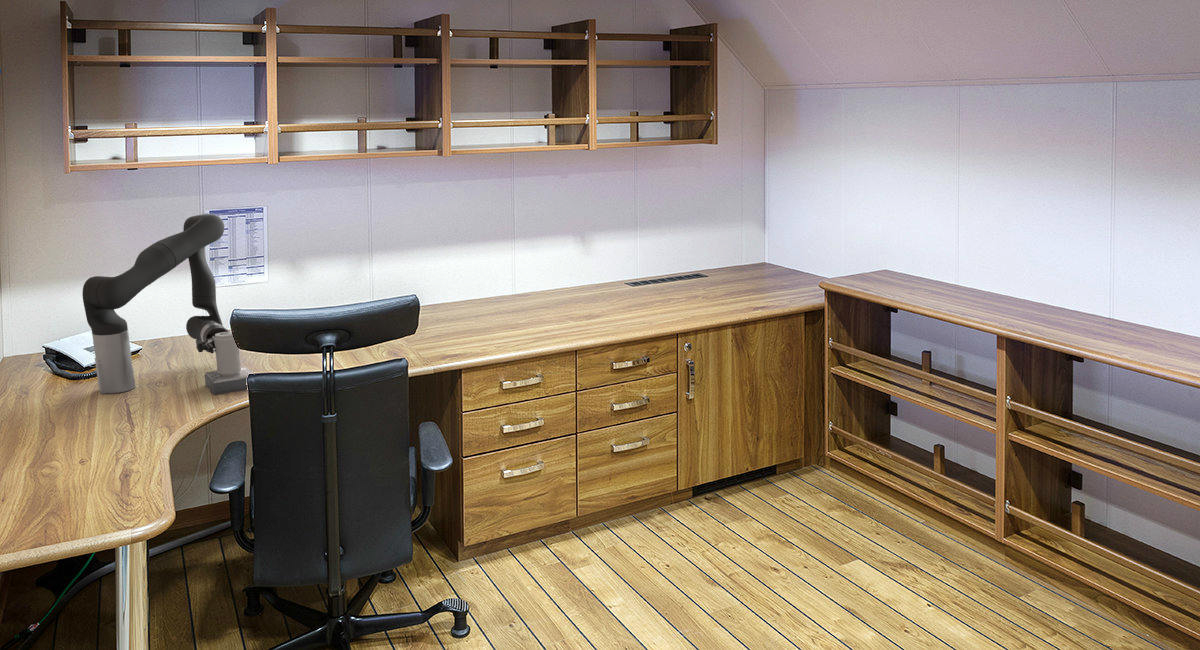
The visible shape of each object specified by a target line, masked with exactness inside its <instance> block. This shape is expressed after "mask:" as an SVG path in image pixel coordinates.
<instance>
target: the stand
mask: <svg viewBox="0 0 1200 650" xmlns="http://www.w3.org/2000/svg"><path fill="white" fill-rule="evenodd" d="M249 374H254V373H253V372H252V371H251V370H250V369H249V368H248V367H247V366H241V371H240V372H239V373H238V374H236V375H231V376H223V375H221V374H219V373H218V370H212V371H207V372H205V373H204V381H205V382H204V383H205V386H206V388H207V389H209V391H210V393H212V395H213V396H219V395H224V393H225V394H231V393H237V392H243V391H248V390H247V385H246V378H247V376H248V375H249ZM236 391H237V392H236ZM230 392H231V393H230ZM218 394H219V395H218Z"/></svg>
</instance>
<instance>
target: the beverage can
mask: <svg viewBox="0 0 1200 650" xmlns="http://www.w3.org/2000/svg"><path fill="white" fill-rule="evenodd" d="M232 332H233V331H229V332H221V333H217V334H215V336H216V337H215V338H214V343H215V351H214V353H215V359H216V368H217V369H216V371H218V373H219V374H221V375H223V376H231V375H236V374H238V373H239V372H240V371H241V367H242V365H241V364H242V363H241V356H240V347H239V348H238V347H237V345H236V343H235V340H234V338H233V335H232Z"/></svg>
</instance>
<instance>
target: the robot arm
mask: <svg viewBox="0 0 1200 650" xmlns="http://www.w3.org/2000/svg"><path fill="white" fill-rule="evenodd" d="M182 228H183V231H181V232H180V231H179V232H178V233H175V234H173V235H172V234H171V235H169V236H166V237H165V238H162V239H160V240H158V241H156V242H154V243H152V244H151V245H149V246H147V248H145V249H143V250H142V251H140V252H139V254H138V256H136V257H137V258H136V260H135V262H134V264H133V266H131V267H130V268H129V269H128V270H126V271H125V272H123V273H120V274H119V275H116V276H101V275H96V276H91V277H89V278H88V279H87V280H86V281H85V282H84V283H83V286H82V295H81V296H82V303H83V307H84V312H85V313H84V314H85V316H86V322H87V324H88V326H89V328H90V330H91V335H92V343H93V349H94V356H95V357H94V361H95V362H94V364H95V370H96V377H97V385H98V390H99V392H100V394H102V395H104V394H117V393H118V394H119V393H124V392H128V391H131V390H133V389H135V388H136V381H135V375H134V366H133V359H132V351H131V344H130V343H131V342H130V336H129V328H128V322H127V320H126V319H124V318H122V317H121V316H120V315H118V313H117V312H116V311H115V310H118V309H120V308H122V307H124V306H126V305H127V304H128V303H129V302H130V301H132V300H133V299H134V298H135V297H136V296H137V295H138V294H139V293H140V292H142V291H143V290H144V289H145V288H146V287H148V286H150V285H151V284H153V283H154V282H156V281H157V280H158V279H160V278H162V277H163V276H165V275H166V274H168V273H170V272H171V271H172V270H173V269H175V268H176V267H177V266H179V265H180V264H181V263H183V262H185V261H187V259H188V263H189V264H188V265H189V268H190V269H189V270H190V275H191V303H192V306H193V307H194V308H195V309H199V310H200V309H201V310H204V311H206V312H207V313H208V315H193V316H191V317H189V318H188V320H187V321H186V325H185V326H186V327H185V328H186V329H185V330H186V333H187V334H188V336H189V337H190V338H192V339H193V340H195V346H196V350H197V351H198V353H203V352H204V351H205V352H206V353H210V354H214V353H215V343H214V338H215V337H216V336H215V334H217V333H221V332H230V331H229V330H228V329H227V328H226V327H224V326H223V322H222V319H221V316H220V312H219V309H218V305H217V304H218V303H217V295H216V294H217V291H216V290H217V288H216V287H217V285H216V280H215V276H214V274H213V272H212V271H211V268H210V266H209V265H208V262H207V259H206V255H205V254H206V253H205V247H207V246H209V245H211V244H214V243H216V242H218V241H219V240H220V239H221V238H222V237H223V235H224V232H225V223H224V221H223V219H222V218H221V217H220V216H219V215H217V214H214V213H202V214H196V215H193V216H189V217H188V218H187V219H185V220H184V223H183V227H182Z"/></svg>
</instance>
